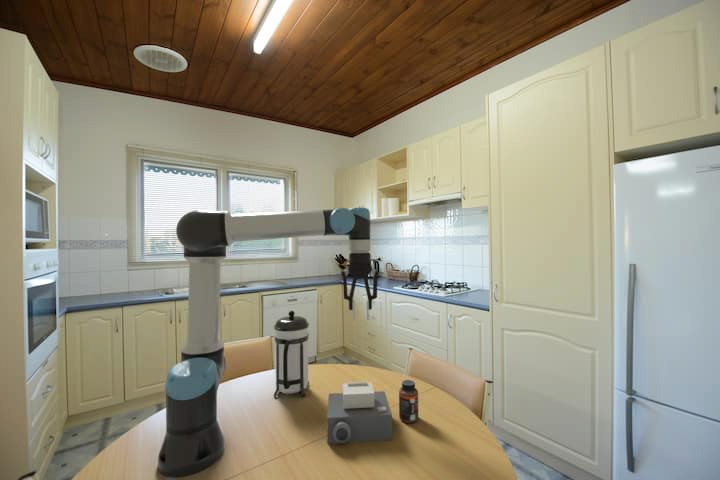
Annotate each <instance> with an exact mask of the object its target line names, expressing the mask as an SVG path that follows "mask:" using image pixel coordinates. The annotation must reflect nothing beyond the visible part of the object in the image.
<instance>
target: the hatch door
mask: <svg viewBox="0 0 720 480" xmlns="http://www.w3.org/2000/svg"><path fill="white" fill-rule="evenodd" d="M374 392H375V390H374V387H373V382H368V381H355V382H351V381H350V382H347V383H342V393H343V409H346V408H367V407H374Z"/></svg>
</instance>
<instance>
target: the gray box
mask: <svg viewBox="0 0 720 480" xmlns="http://www.w3.org/2000/svg"><path fill="white" fill-rule="evenodd" d="M326 416H327V417H326V418H327V419H326V425H327V427H326V429H327V430H326V433H327V434H326V435H327V437H326V438H327V441H326V442H327V444H346V443H359V442H360V443H362V442H380V441H381V442H382V441H393V415H392V410H391V407H390V405H389V401H388V399H387V395H386V392H385V391H383V390H382V391H374V407H367V408H346V409H343V392H339V393H338V392H337V393H336V392H335V393H328V400H327V415H326Z"/></svg>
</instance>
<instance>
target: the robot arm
mask: <svg viewBox="0 0 720 480" xmlns="http://www.w3.org/2000/svg"><path fill="white" fill-rule="evenodd" d="M370 213H371V212H370V210H369V208H367V207H351V208H349V209H348V208H345V207H337V208H333V209H319V210H318V209H317V210H316V209H315V210H297V211H277V212H276V211H275V212H255V213H253V212H252V213H234V214H233V213H230V212H229V211H228V210H221V211H220V210H216V211H215V210H197V209H196V210H192V211H189V212H187V213H185V214H184V215H183V216H182V217H181V218H180V219H179V220H178V222H177V225H176V229H175V234H176V237H177V239H178V241H179V243H180V244H181V245H182V246H183V258H184V259H185V261H187V262H188V263H189V264H188V265H189V269H188V301H187V302H188V303H187V304H188V308H187V309H188V311H187V314H188V315H187V343H186V344H185V345H183V346H182V347H181V351H180V352H181V353H180V363H176V364H175V365H174V366H173V367H171V369H169V371H168V372H167V375H166V379H165V388H164V389H165V390H164V391H165V409H166V410H165V411H166V412H165V418H166V422H165V423H166V428H165V430H166V431H165V435H164V439H163V441H162V444H161V447H160V451H159V454H158V457H157V469H158V472H160V473H161V474H163V475H164V476H167V477H175V478H177V477H183V476H184V477H185V476H188V475H192V474H195V473H198V472H200V471H202V470H204V469H206V468H208V467H210V466H211V465H213V464H214V463H215V462H216V461H218V459H219V458H221V456H222V455H223V454H224V453H223V452H224V450H225V438H224V435H223V432H222V430H221V427H220V425H219V422H218V413H217V412H218V406H217V404H218V401H217V400H218V399H217V397H218V390H219V387H220V385H221V381H222V378H223V376H224V373H225V371H226V364H227V363H226V362H227V361H226V358H225V344H224V343H223V342H222V340H220V309H221V308H220V306H221V305H220V304H221V303H220V302H221V263H222V262H223V261H224V260H225V259H226V258H227V247H230V246H231V245H232V244H233V243H235V242H236V243H237V242H249V241H262V240H276V239H289V238H302V237H316V236H324V237H325V236H348V252H349V253H348V266H347V268H346V269H343V270H341V271H340V274H341V276H342V287H343V289H342V290H343V299H344V300H347V301H348V309H349V311H351V315H352V316H351V317H352V321H356V313H355V311H356V306H355V305H356V302H355V299H354V295H355V289H356V285H357V280H359V279H360V280H361V279H362V280H363V283H364V286H365V287H364V288H365V291H366V292H365V293H366V296H367V299H365V320H367V321H369V320H370V313H369V312H370V311H369V310H372V309H373V303H372V301H373V300H374V299H377V298H378V277H379V274H380V270H378V269H375V268H373V267H372V264H371V261H372V258H371V257H372V255H371V214H370ZM349 274H350V275H351V276H352V280H351V286H350V290H349V295H348V283H347V282H348V281H347V280H348V278H347V277H348V275H349ZM370 274H372V291H371V288H370V284H369V278H368V277H369V275H370ZM371 292H372V293H371Z"/></svg>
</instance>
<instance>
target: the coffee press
mask: <svg viewBox="0 0 720 480" xmlns="http://www.w3.org/2000/svg"><path fill="white" fill-rule="evenodd" d="M309 326H310V323H309V322H308V320H307V319H306V318H305V317H304V316H299V315H296V314H295V311H294V310H289V312H288V316H284V317H281V318H278V319H277V320H276V322H275V324H274V326H273V329H274V331H275V332H274V342H275V343H274V344H275V345H274V346H275V347H274V352H275V353H274V354H275V356H274V358H275V359H274V363H275V366H274V367H275V369H274V370H275V372H274V375H275V388H276V389H275V392H274V394H273V397H274V398H276V399H279V397H280V396H281V394H282V393H283V394H296V393H298V394H299V397H301V398H304V397H306V396H307V395H306V391H305V389H306V388H307V387H308V386H309V384H310V381H309V338H310V337H309V336H310V335H309Z"/></svg>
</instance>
